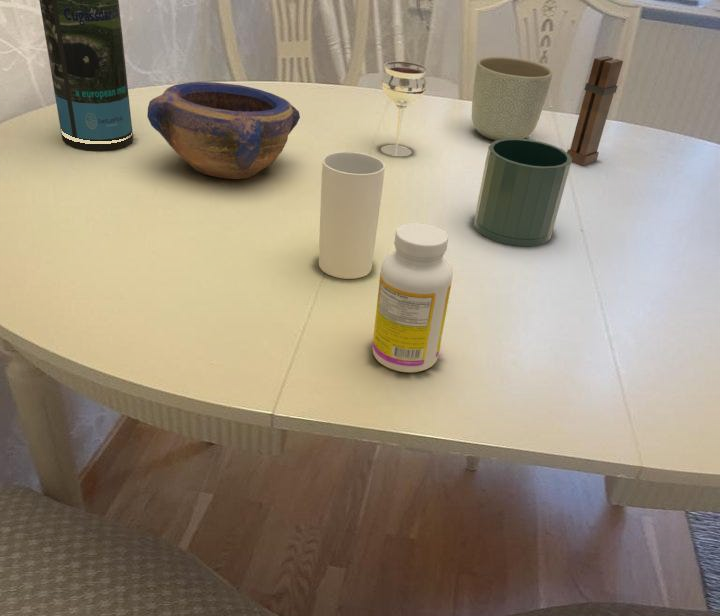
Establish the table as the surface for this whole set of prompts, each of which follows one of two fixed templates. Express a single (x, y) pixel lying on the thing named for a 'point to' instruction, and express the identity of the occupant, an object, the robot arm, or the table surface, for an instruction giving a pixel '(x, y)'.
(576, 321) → the table surface
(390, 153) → the wineglass
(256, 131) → the bowl
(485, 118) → the planter
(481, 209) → the crock
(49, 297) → the table surface
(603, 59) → the tongs
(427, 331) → the supplement bottle
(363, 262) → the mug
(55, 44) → the advertising column
